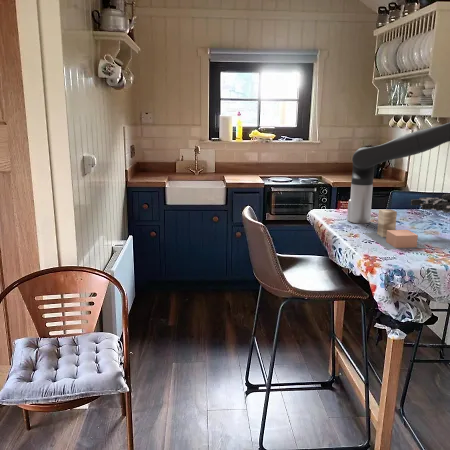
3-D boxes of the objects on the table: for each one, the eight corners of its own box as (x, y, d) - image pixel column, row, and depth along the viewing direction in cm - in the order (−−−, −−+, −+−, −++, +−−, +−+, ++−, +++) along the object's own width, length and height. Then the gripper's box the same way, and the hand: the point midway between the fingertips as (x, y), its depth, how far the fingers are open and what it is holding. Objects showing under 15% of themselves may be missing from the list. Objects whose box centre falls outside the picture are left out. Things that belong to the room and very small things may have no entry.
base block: (395, 247, 165) (396, 235, 164) (385, 241, 173) (386, 230, 172) (416, 247, 166) (417, 235, 165) (406, 241, 174) (407, 229, 173)
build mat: (387, 251, 164) (387, 249, 164) (363, 234, 186) (363, 232, 186) (427, 249, 165) (428, 248, 165) (398, 233, 187) (398, 231, 187)
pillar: (382, 237, 179) (384, 212, 177) (377, 233, 184) (379, 209, 182) (394, 236, 180) (396, 211, 177) (389, 233, 185) (391, 209, 182)
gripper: (446, 190, 187) (408, 192, 186) (467, 196, 174) (426, 198, 172) (444, 208, 189) (407, 210, 188) (465, 215, 175) (425, 217, 174)
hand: (416, 204), depth 180 cm, fingers open, 8 cm apart
